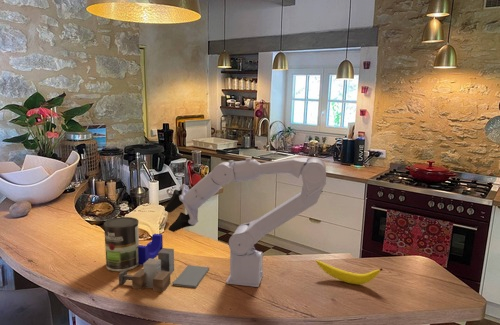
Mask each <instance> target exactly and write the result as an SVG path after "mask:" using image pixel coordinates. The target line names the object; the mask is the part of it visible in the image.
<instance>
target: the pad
mask: <svg viewBox="0 0 500 325" xmlns="http://www.w3.org/2000/svg"><path fill="white" fill-rule="evenodd" d="M208 271H210V266H209V267H208V266H200V265H190V264H187V265H186V267H184V270H182V272H181V273H180V274H179V275H178V277H176V279H174V281H173V282H172V286H176V287H183V288H184V287H185V288H191V289H192V288H194V289H196V288H198V286H199V284H200V283H201V281H203V279H204V278H205V276H206V275H207V273H208Z"/></svg>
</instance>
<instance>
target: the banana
mask: <svg viewBox="0 0 500 325" xmlns="http://www.w3.org/2000/svg"><path fill="white" fill-rule="evenodd" d="M315 263H316V264H317V265H318V266H319V268H320V269H321V270H322V271H323V272H325V273H326V274H327V275H329V276H330V277H333V278H334V279H336V280H338V281H341V282H344V283H348V284H351V285H365V284H368V283H369V282H371V281H372V280H374V279H375V278H376V277H377V276H378V275H379V274H380V272H381V271H382V272H383V268H382V267H381V268H379V269H375V270H372V271H369V272H366V273H354V272H350V271H346V270H344V269H340V268H337V267H335V266H332V265H330V264H327V263H326V262H323V261H321V260H317V259H315Z"/></svg>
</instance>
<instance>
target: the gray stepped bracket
mask: <svg viewBox="0 0 500 325" xmlns="http://www.w3.org/2000/svg"><path fill="white" fill-rule="evenodd" d="M157 259H160V260H161V271H167V272H170V276H171V275H172V274H173V272H175V249H174V248H168V247H167V248H166V247H163V249H161V250H160V251H159V252H158V255H157Z"/></svg>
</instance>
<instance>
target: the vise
mask: <svg viewBox="0 0 500 325" xmlns="http://www.w3.org/2000/svg"><path fill="white" fill-rule="evenodd" d="M126 281H131V286H132V287H131V288H132V290H141V291H142V290H143V289H144V288H145V287H144V268H139V270H137V271H136V272H135V273H134V274H133V275H132V274H128V270H125V269H124V270H123V271H120V272H119V274H118V284H119V285H123V284H124V283H125V282H126ZM170 285H171V275H170V272H167V271H160V272H159V273H158V274H157V275H156V276H155V277H154V278H153V288H152V290H153V292H159V293H164V292H165V291H166V289H168V287H169V286H170Z"/></svg>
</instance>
